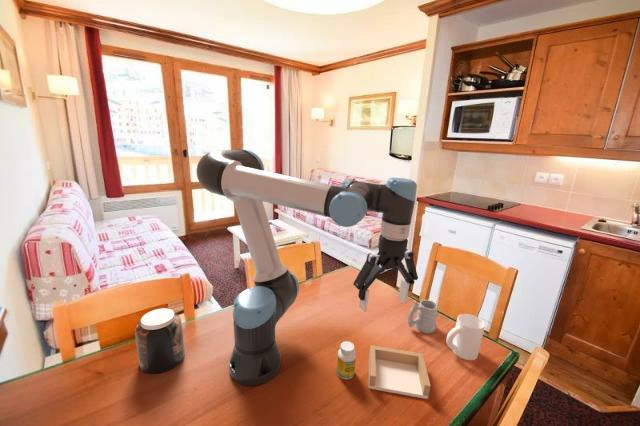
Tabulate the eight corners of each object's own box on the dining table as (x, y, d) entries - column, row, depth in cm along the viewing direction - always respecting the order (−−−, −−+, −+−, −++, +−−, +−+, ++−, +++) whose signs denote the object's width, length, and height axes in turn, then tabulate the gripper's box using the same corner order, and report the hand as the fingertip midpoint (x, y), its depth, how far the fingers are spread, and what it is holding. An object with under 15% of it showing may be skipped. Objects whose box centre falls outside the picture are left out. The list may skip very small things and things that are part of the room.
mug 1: (440, 332, 104) (445, 304, 101) (411, 337, 101) (416, 307, 98) (427, 319, 111) (432, 292, 108) (400, 323, 108) (404, 295, 105)
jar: (150, 382, 78) (144, 336, 74) (133, 360, 85) (126, 317, 81) (191, 357, 87) (188, 315, 83) (172, 339, 94) (168, 300, 90)
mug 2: (436, 345, 97) (441, 315, 94) (464, 341, 100) (471, 311, 97) (452, 364, 90) (459, 332, 87) (483, 358, 93) (490, 327, 90)
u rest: (368, 388, 80) (370, 375, 78) (368, 356, 91) (370, 345, 90) (428, 399, 77) (430, 386, 76) (420, 365, 89) (422, 353, 87)
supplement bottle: (346, 363, 88) (349, 337, 85) (358, 375, 84) (360, 348, 81) (332, 370, 85) (334, 343, 82) (343, 383, 81) (346, 355, 78)
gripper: (360, 245, 68) (351, 320, 74) (439, 237, 77) (425, 305, 83) (346, 234, 74) (338, 304, 80) (420, 228, 84) (408, 291, 90)
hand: (383, 304), depth 82 cm, fingers open, 13 cm apart
